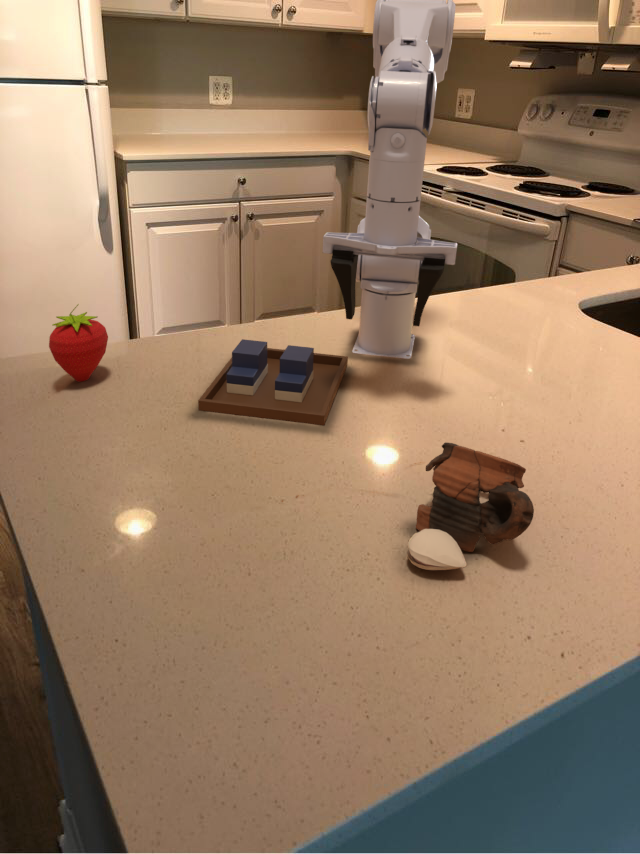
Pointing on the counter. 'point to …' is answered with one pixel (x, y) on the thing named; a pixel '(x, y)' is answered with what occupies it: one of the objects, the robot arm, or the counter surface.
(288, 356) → the trainer
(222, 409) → the brown serving tray
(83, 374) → the strawberry
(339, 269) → the robot arm
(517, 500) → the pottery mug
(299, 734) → the counter surface
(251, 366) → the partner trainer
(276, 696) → the counter surface
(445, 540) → the white teardrop shell
